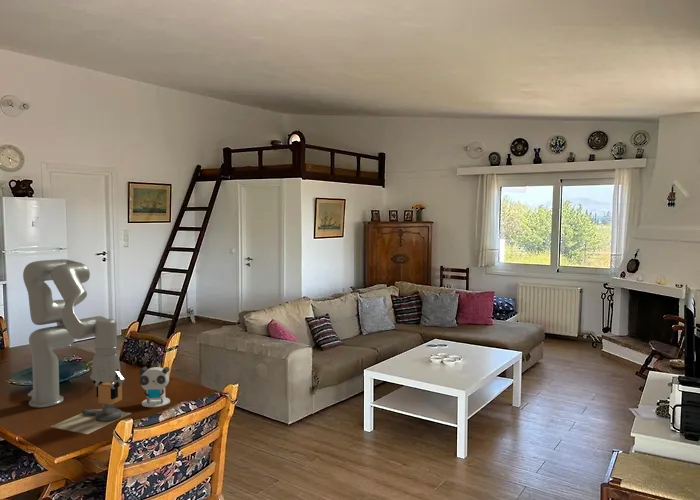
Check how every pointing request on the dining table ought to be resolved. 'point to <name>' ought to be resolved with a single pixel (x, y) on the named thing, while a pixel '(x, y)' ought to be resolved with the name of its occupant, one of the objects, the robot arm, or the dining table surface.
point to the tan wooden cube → (108, 393)
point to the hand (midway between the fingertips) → (107, 396)
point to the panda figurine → (154, 386)
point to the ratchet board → (92, 419)
